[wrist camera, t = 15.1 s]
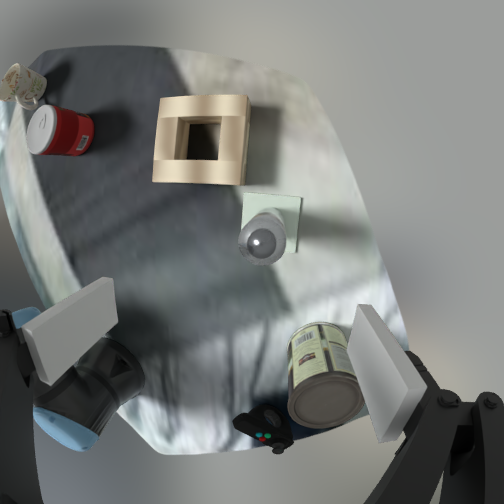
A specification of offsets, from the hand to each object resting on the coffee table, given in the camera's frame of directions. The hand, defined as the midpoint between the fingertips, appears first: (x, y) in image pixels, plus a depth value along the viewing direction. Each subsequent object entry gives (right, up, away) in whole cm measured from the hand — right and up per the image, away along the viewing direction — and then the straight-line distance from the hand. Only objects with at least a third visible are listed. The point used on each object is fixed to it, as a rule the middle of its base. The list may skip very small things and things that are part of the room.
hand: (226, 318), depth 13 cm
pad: (+4, +8, +26) cm, 27 cm away
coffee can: (+12, -13, +30) cm, 35 cm away
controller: (+4, -28, +34) cm, 44 cm away
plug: (+4, +7, +25) cm, 27 cm away
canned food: (-30, +25, +25) cm, 46 cm away
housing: (-5, +19, +24) cm, 31 cm away
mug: (-45, +38, +24) cm, 63 cm away
